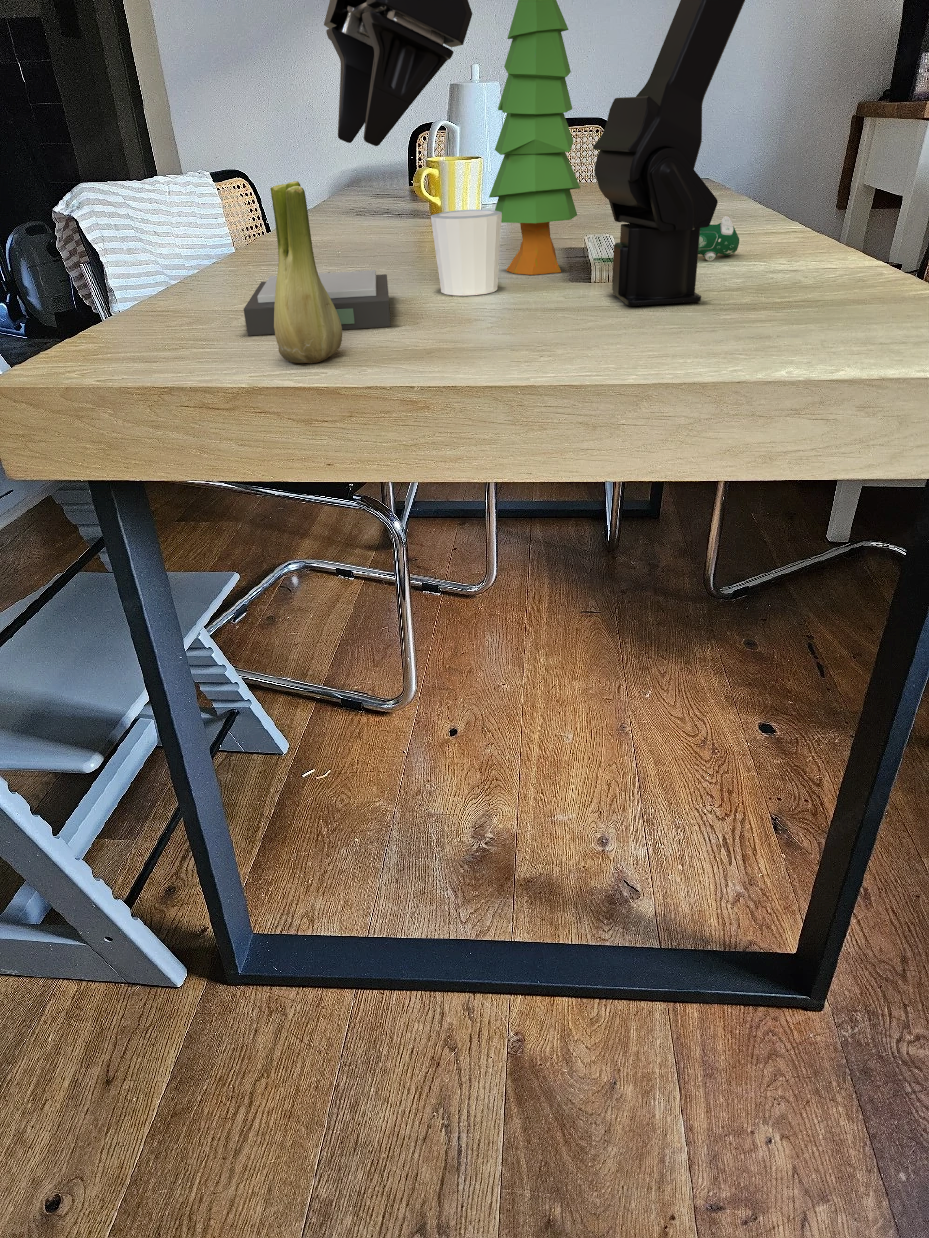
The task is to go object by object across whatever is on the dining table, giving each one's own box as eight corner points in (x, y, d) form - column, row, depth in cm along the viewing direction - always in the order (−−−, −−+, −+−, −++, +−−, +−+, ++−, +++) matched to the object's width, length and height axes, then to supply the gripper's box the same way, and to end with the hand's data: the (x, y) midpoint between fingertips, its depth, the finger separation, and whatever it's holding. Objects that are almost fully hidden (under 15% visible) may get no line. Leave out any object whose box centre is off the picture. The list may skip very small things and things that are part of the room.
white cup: (497, 296, 84) (495, 216, 81) (427, 297, 86) (422, 218, 82) (509, 283, 90) (507, 207, 86) (443, 284, 91) (439, 209, 88)
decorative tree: (512, 280, 92) (506, -87, 76) (476, 268, 99) (464, -68, 84) (594, 270, 95) (604, -85, 79) (553, 259, 102) (555, -67, 87)
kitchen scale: (388, 298, 86) (386, 267, 85) (390, 327, 75) (387, 292, 73) (264, 305, 85) (260, 275, 84) (247, 336, 74) (241, 301, 73)
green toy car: (651, 276, 100) (654, 241, 94) (652, 246, 101) (656, 210, 95) (736, 274, 98) (744, 239, 93) (736, 245, 99) (745, 208, 94)
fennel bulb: (288, 351, 69) (263, 179, 63) (350, 348, 69) (332, 176, 63) (271, 370, 64) (243, 186, 58) (339, 368, 64) (317, 183, 58)
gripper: (289, -131, 65) (236, 99, 71) (340, -207, 50) (267, 94, 55) (426, -55, 70) (367, 154, 75) (511, -104, 54) (428, 164, 60)
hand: (356, 142), depth 66 cm, fingers open, 9 cm apart
